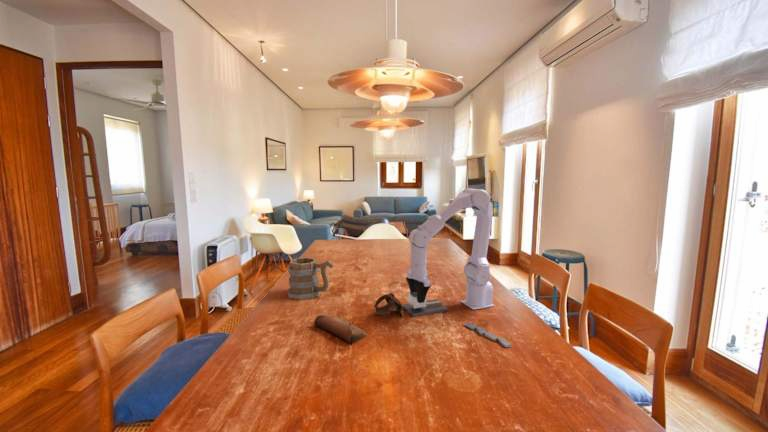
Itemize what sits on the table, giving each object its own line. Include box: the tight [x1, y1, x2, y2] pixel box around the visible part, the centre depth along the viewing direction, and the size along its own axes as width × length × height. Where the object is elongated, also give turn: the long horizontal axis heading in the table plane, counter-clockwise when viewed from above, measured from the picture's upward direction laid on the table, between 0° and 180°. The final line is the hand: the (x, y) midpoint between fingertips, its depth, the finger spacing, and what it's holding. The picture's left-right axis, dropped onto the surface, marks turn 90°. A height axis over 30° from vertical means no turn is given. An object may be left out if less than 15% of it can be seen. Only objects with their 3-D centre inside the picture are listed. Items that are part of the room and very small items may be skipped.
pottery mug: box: [374, 292, 405, 318], centre depth 116 cm, size 12×10×8 cm
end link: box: [407, 292, 428, 308], centre depth 119 cm, size 5×5×4 cm
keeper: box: [401, 299, 449, 317], centre depth 120 cm, size 14×9×4 cm, turn 111°
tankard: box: [286, 257, 335, 301], centre depth 133 cm, size 20×13×15 cm, turn 68°
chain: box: [464, 321, 512, 348], centre depth 101 cm, size 3×17×1 cm, turn 34°
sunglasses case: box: [314, 314, 370, 345], centre depth 103 cm, size 18×7×7 cm
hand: (417, 299), depth 119 cm, fingers closed on end link, 5 cm apart
